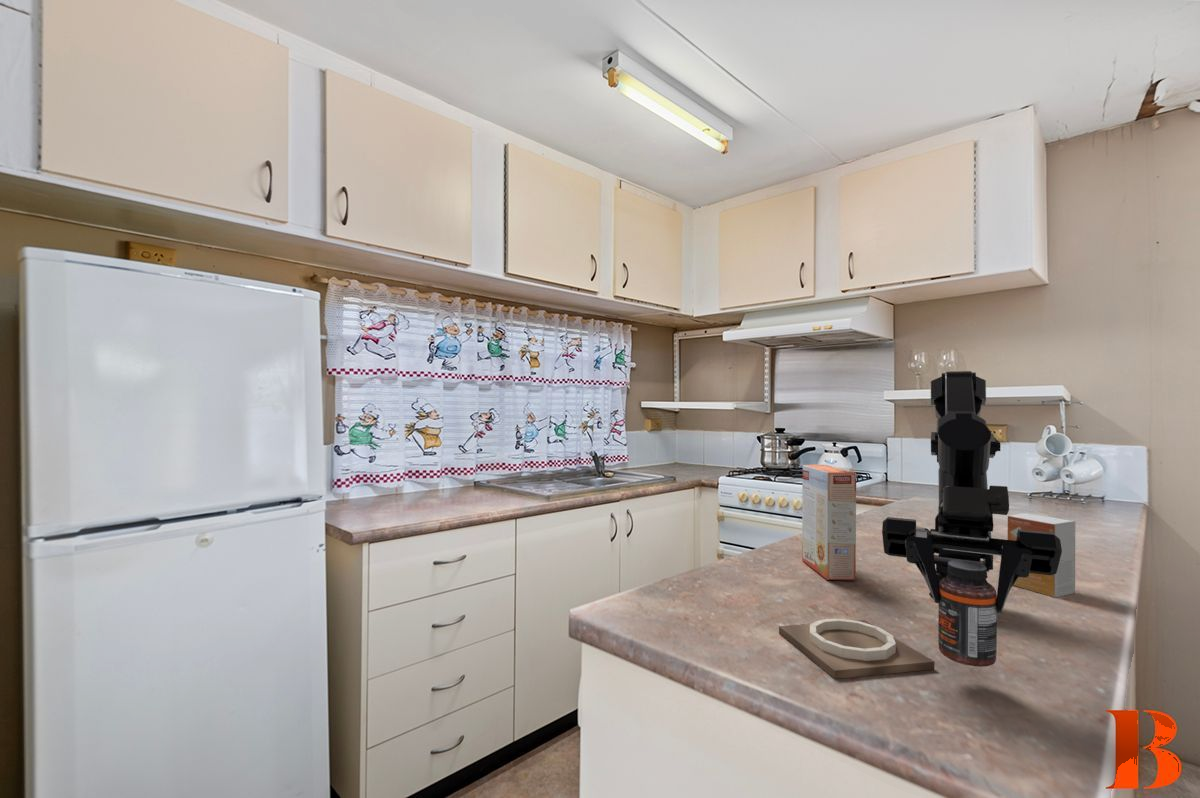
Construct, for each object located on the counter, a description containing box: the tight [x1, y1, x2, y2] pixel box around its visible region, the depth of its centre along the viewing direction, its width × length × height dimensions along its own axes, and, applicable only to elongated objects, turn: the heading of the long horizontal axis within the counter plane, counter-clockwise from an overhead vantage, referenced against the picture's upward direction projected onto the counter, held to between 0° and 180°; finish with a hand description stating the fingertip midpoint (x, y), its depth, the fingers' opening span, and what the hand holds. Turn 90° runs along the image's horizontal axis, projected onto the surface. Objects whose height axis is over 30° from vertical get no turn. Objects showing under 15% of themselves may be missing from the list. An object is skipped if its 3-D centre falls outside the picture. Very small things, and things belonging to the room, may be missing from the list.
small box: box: [1007, 512, 1076, 598], centre depth 103 cm, size 8×6×13 cm
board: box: [778, 619, 935, 680], centre depth 77 cm, size 14×14×1 cm
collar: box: [809, 618, 896, 661], centre depth 77 cm, size 11×11×1 cm
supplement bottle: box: [937, 560, 998, 668], centre depth 68 cm, size 6×6×11 cm
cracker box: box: [801, 464, 857, 581], centre depth 114 cm, size 14×6×21 cm, turn 179°
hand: (967, 606), depth 67 cm, fingers closed on supplement bottle, 6 cm apart
